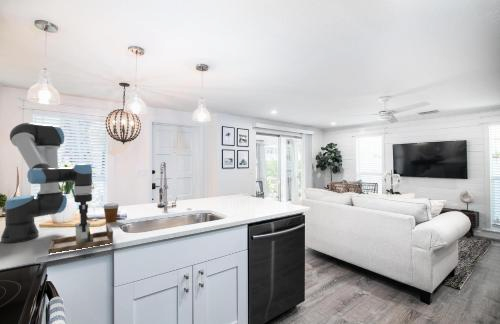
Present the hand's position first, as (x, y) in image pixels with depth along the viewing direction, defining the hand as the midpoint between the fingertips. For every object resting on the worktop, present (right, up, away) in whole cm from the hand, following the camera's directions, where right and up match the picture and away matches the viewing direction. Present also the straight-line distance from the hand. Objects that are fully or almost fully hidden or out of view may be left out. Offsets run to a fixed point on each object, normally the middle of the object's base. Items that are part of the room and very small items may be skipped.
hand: (83, 234), depth 126 cm
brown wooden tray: (0, -5, 0) cm, 5 cm away
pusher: (+3, -4, +2) cm, 5 cm away
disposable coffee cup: (-11, -4, +44) cm, 45 cm away
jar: (0, -4, 0) cm, 4 cm away
